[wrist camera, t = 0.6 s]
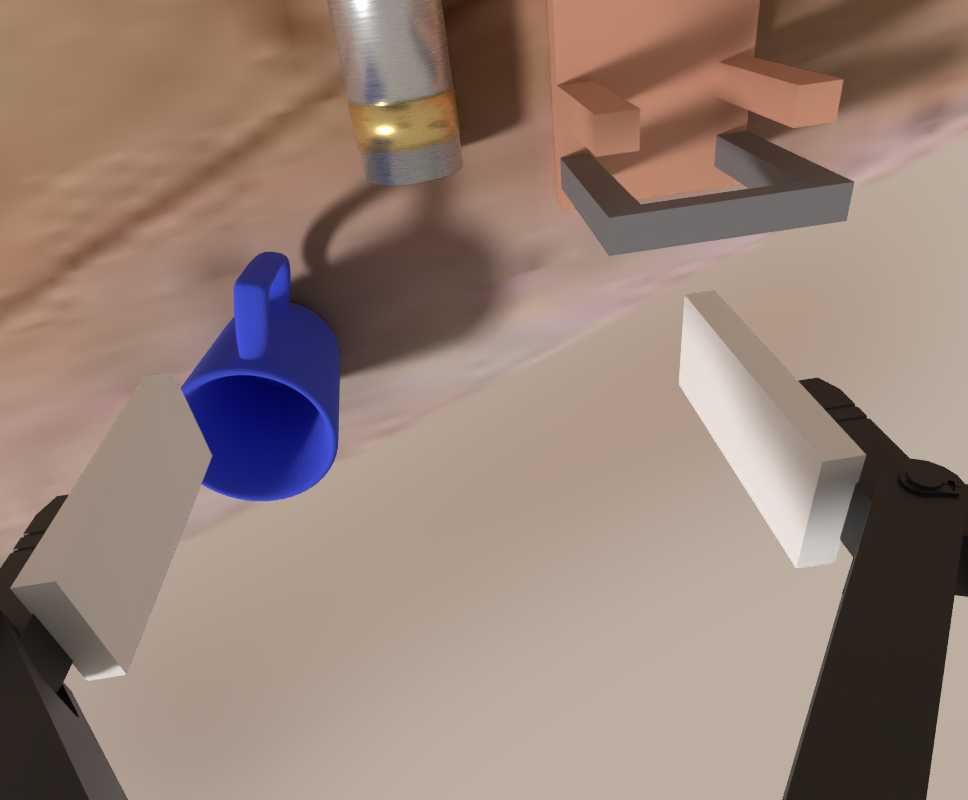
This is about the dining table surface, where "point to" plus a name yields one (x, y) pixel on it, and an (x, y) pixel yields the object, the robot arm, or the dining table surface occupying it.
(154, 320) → the dining table surface
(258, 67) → the dining table surface
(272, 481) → the mug
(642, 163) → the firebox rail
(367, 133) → the tube
